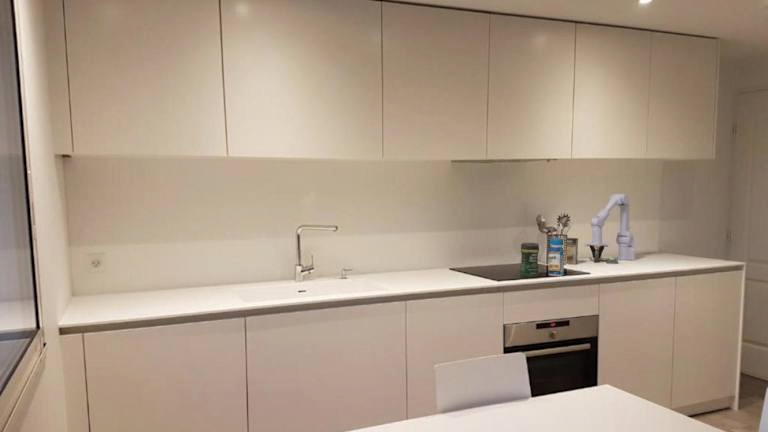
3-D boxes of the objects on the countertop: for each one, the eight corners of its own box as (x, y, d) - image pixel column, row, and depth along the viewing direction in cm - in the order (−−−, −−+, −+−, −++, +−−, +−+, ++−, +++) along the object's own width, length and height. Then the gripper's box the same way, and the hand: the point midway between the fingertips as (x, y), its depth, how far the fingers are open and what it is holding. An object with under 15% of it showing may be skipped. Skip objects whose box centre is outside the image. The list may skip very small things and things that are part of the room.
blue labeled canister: (566, 275, 287) (567, 239, 285) (552, 276, 285) (553, 240, 284) (558, 273, 295) (559, 238, 294) (545, 273, 293) (545, 238, 292)
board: (608, 259, 346) (608, 257, 346) (610, 261, 337) (610, 259, 337) (589, 258, 350) (589, 257, 350) (590, 260, 340) (590, 259, 340)
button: (614, 261, 332) (614, 257, 332) (615, 261, 329) (615, 258, 329) (608, 260, 333) (608, 257, 333) (609, 261, 330) (609, 257, 330)
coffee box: (560, 263, 330) (560, 238, 329) (562, 262, 335) (563, 237, 334) (575, 264, 325) (576, 239, 324) (577, 263, 330) (578, 238, 329)
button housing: (616, 262, 333) (616, 258, 333) (617, 263, 327) (617, 260, 327) (606, 261, 335) (606, 258, 335) (607, 263, 329) (607, 259, 329)
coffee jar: (525, 278, 281) (525, 243, 280) (517, 275, 289) (518, 242, 288) (541, 277, 284) (541, 243, 283) (533, 274, 291) (533, 241, 290)
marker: (599, 261, 335) (599, 247, 334) (599, 262, 332) (600, 247, 331) (593, 261, 336) (593, 246, 335) (594, 262, 333) (594, 247, 332)
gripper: (585, 237, 331) (585, 258, 332) (610, 237, 327) (609, 259, 328) (584, 235, 338) (584, 256, 339) (608, 236, 334) (608, 257, 334)
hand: (596, 257), depth 334 cm, fingers closed on marker, 3 cm apart
